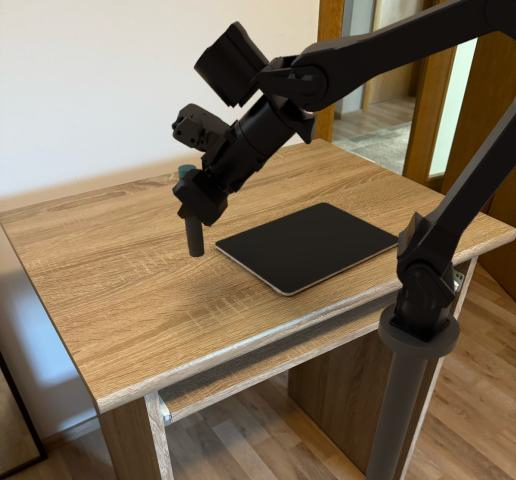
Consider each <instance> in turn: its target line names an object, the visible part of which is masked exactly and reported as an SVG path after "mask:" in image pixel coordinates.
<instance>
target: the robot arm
mask: <svg viewBox="0 0 516 480" xmlns="http://www.w3.org/2000/svg"><path fill="white" fill-rule="evenodd" d="M494 32H495V33H496V32H500V33H502V34H504V35H505V36H508V37H509V38H510V39H512V40H514V41H516V0H445V1H443V2H441V3H439V4H436V5H434V6H432V7H431V6H430V7H429V8H427V9H424V10H422V11H420V12H417V13H415V14H412V15H409V16H408V17H404V18H403V19H400V20H397V21H395V22H393V23H391V24H388V25H385V26H384V27H383V26H382V27H381V28H378V29H377V30H374V31H372V32H371V31H370V32H367V33H366V32H365V33H361V34H356V35H354V34H353V35H345V36H339V37H335V38H331V39H326V40H321V41H316V42H313V43H311V44H309V45H308V46H307V47H304V49H303V50H302V51H301V52H300V53H299V54H292V55H283V56H281V55H279V56H277V57H274V58H272V59H271V60H270V59H268V58H267V57H266V56H265V55H264V53H263V52H262V51H261V50H260V49H259V47H258V46H257V45H256V43H255V42H254V40H252V39H251V37H250V36H249V33H248V31H247V30H246V28H245V27H244V26H243V24H241V22H240V21H239V20H235V21H234V22H232V23H230V24H229V26H228V27H227V28H226V30H225V31H224V32H223V33H222V34H221V35H219V36H218V38H217V39H216V40H215V41H214V42H213V43H212V44H211V45H210V46H208V47H206V48H205V49H204V51H203V52H202V54H201V55H200V56H199V57H198V59H197V61H196V62H195V64H194V66H193V70H194V71H195V72H196V73H197V74H198V75H199V77H201V79H202V80H203V81H204V82H205V83H206V84H207V86H208V87H209V88H210V89H211V90H212V91H213V92H214V93H215V94H216V96H217V97H218V98H219V99H220V100H221V101H222V102H223V103H224V104H225V105H226V107H228V108H230V107H231V108H232V109H235V108H236V106H239V108H240V109H243V107H244V106H245V105H247V103H248V102H249V101H250V100H251V99H252V98H253V97H254V95H256V93H258V91H259V90H260V91H261V96H260V97H259V98H258V99H257V100H256V101H255V102H254V103H253V104H252V105H251V106H250V107H249V108H248V109H247V111H246V112H245V113H244V114H243V115H242V116H241V117H240V118H239V119H238V118H236V119H235V120H234V121H233V122H232V123H231V124H228V123H227V122H226V121H224V120H223V119H222V118H221V117H220V116H217V115H216V114H214V113H212V112H210V111H208V110H207V109H205V108H204V107H201V106H200V105H198V104H196V103H193V102H192V103H187V104H186V105H185V106H184V107H182V108H181V109H180V110H179V111H178V114H177V117H176V119H175V121H174V122H172V123H171V129H172V130H173V131H172V138H173V139H174V140H176V141H177V142H179V143H181V144H182V145H184V146H186V147H187V148H190V149H194V150H197V151H198V152H201V153H203V155H202V156H201V157H200V160H201V168H196V169H192V168H191V169H190V170H189V171H188V172H187V173H186V174H185V175H184V176H183V178H182V179H181V180H180V181H177V183H176V184H175V185H174V186H173V187H172V188H171V191H172V194H173V196H174V197H175V198H176V199H177V200H178V201H179V202H180V203H181V205H180V207H179V209H178V211H177V213H176V215H177V216H178V217H179V218H180V219H181V220H184V219H186V218H190V217H194V216H196V217H197V218H198V219H199V220H200V221H201V222H202V225H203V226H204V227H209V228H211V227H212V226H213V225H214V224H215V223H216V222H217V221H219V219H220V218H222V215H224V213H225V211H226V210H227V209H228V207H229V202H228V201H229V200H228V198H229V196H230V195H232V194H234V193H235V194H236V193H238V192H239V191H240V190H241V189H242V187H243V186H244V184H245V183H246V182H247V181H248V180H249V179H250V178H251V177H252V176H253V175H254V174H255V173H259V172H260V171H261V170H262V169H263V168H264V167H265V165H266V164H267V162H268V161H269V160H270V159H271V158H272V157H273V156H274V155H275V154H276V153H277V152H278V151H279V150H280V149H281V148H282V147H284V145H285V144H286V143H288V141H290V140H291V139H292V138H293V137H294V136H295V135H296V134H297V136H298V137H299V138H300V139H301V140H302V142H304V144H306V145H310V144H311V143H312V142H313V140H314V139H315V136H316V134H317V120H318V118H319V116H318V114H317V112H321V111H322V110H325V109H326V108H328V107H330V106H332V105H333V104H335V103H337V102H339V101H340V100H342V99H344V98H346V97H347V96H348V95H349V96H350V94H352V93H353V92H354V91H356V90H357V89H359V88H360V87H361V86H363V85H365V84H366V83H368V82H369V81H371V80H372V79H374V78H376V77H378V76H379V75H383V74H385V73H388V72H390V71H393V70H396V69H399V68H401V67H404V66H406V65H407V66H408V65H410V64H412V63H415V62H417V61H419V60H423V59H425V58H428V57H431V56H433V55H436V54H438V53H441V52H444V51H446V50H448V49H451V48H454V47H457V46H460V45H462V44H465V43H467V42H470V41H472V40H475V39H478V38H481V37H484V36H486V35H489V34H491V33H494ZM515 168H516V96H515V97H514V99H513V101H512V102H511V103H510V105H509V107H507V109H506V111H505V112H504V114H503V115H502V116H501V118H500V119H499V120H498V122H497V123H496V125H494V127H493V128H492V130H491V131H490V133H489V134H488V136H487V137H486V139H485V140H484V141H483V142H482V144H481V145H480V147H479V148H478V150H477V151H476V152H475V154H474V155H473V156H472V158H471V159H470V161H469V162H468V164H467V165H466V167H465V168H464V169H463V170H462V172H461V173H460V175H459V176H458V178H457V179H456V180H455V181H454V183H453V185H451V187H450V188H449V190H448V191H447V193H446V194H445V195H444V197H443V198H442V199H441V201H440V202H439V204H438V205H437V206H436V207H435V209H433V210H432V211H430V212H429V213H427V214H426V215H425V216H423V215H422V214H420V212H418V211H414V213H413V214H412V216H411V219H410V220H409V222H408V224H407V226H406V227H405V228H404V229H403V230H401V231H399V233H398V236H397V237H398V245H397V248H396V271H395V273H396V277H397V279H398V281H399V282H400V284H402V285H401V288H400V289H398V291H397V295H396V300H395V302H394V303H395V308H394V314H396V315H395V316H394V317H393V318H391V319H390V320H389V324H390V325H392V326H394V327H396V328H398V329H400V330H402V331H404V332H406V333H408V334H410V335H412V336H414V337H415V338H417V339H419V340H421V341H423V342H425V343H429V342H430V341H431V340H432V339H434V338H435V337H436V336H437V335H438V334H439V333H440V332H441V331H443V330H444V329H445V328H446V327H447V326H448V325H449V324H450V322H451V320H450V319H448V318H447V317H448V314H449V313H450V310H451V307H452V305H453V301H455V299H456V288H455V287H456V286H455V271H454V262H453V258H454V256H455V253H456V250H457V248H458V245H459V243H460V241H461V238H462V236H463V234H464V232H465V231H466V230H467V229H468V227H469V226H470V225H471V223H472V222H473V221H474V219H475V218H476V217H477V216H478V215H479V214H480V212H481V211H482V209H483V208H484V207H485V206H486V204H487V203H488V202H489V201H490V200H491V198H492V197H493V196H494V194H496V192H497V190H499V189H500V187H501V186H502V185H503V183H504V182H505V181H506V179H508V177H509V176H510V174H511V173H512V172H513V171H514V169H515Z"/></svg>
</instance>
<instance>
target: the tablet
mask: <svg viewBox="0 0 516 480" xmlns="http://www.w3.org/2000/svg"><path fill="white" fill-rule="evenodd" d="M398 237H399V236H396V235H394V234H392V233H390V232H389V231H386V230H384V229H383V228H380V227H378V226H376V225H374V224H372V223H369V221H365V220H363V218H362V219H361V218H359V217H358V216H356V215H353V214H351V213H350V212H348V211H345V210H343V209H341V208H339V207H336V206H335V205H333V204H331V203H329V202H318V203H316V204H314V205H310V206H308V207H305V208H302V209H300V210H297V211H295V212H291V213H289V214H286V215H283V216H281V217H278V218H276V219H273V220H270V221H267V222H265V223H262V224H259V225H257V226H255V227H251V228H249V229H247V230H242V231H240V232H238V233H236V234H233V235H230V236H228V237H224V238H222V239H219V240H217V241H215V242H214V246H215V248H216V249H217V250H219V252H221V253H223V255H225V256H227V257H228V258H230V259H231V260H233V261H234V262H235V263H237V264H238V265H239V266H241V267H243V268H244V269H245V270H247V271H248V272H250V273H251V274H252V275H254V276H256V277H257V278H259V279H260V281H262V282H264V283H265V284H267V285H268V286H270V287H271V288H272V289H273V290H274V291H276V292H277V293H278V294H282V295H283V296H287V297H289V296H293V295H295V294H297V293H300V292H301V291H305V289H308V288H310V287H313V286H314V285H316V284H319V283H321V282H322V281H325V280H327V279H329V278H331V277H333V276H335V275H338V274H339V273H341V272H344V271H346V270H348V269H350V268H352V267H354V266H356V265H358V264H361V263H363V262H365V261H367V260H369V259H371V258H373V257H375V256H377V255H379V254H381V253H383V252H386V251H388V250H390V249H392V248H393V247H394V248H395V247H396V246H398Z"/></svg>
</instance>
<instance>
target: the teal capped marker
mask: <svg viewBox="0 0 516 480" xmlns="http://www.w3.org/2000/svg"><path fill="white" fill-rule="evenodd" d="M191 168H192V169H197V166H196V165H195V164H191V163H190V164H188V163H187V164H182V165H180V166H178V167H177V172H178V180H179V181H180V180H181V179H182V178H183V176H184V175H185V174H186V173H187V172H188V171H189V170H190V169H191ZM179 181H178V182H179ZM183 221H184V224H185V225H184V226H185V235H186V243H187V249H188V254H189V256H190V257H192V258H201V257H204V255H205V253H206V252H205V239H204V231H203V229H204V228H203V223H202V222H201V221H200V220H199V219H198V218H197V217H196V216H194V217H190V218H186V219H183Z"/></svg>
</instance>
